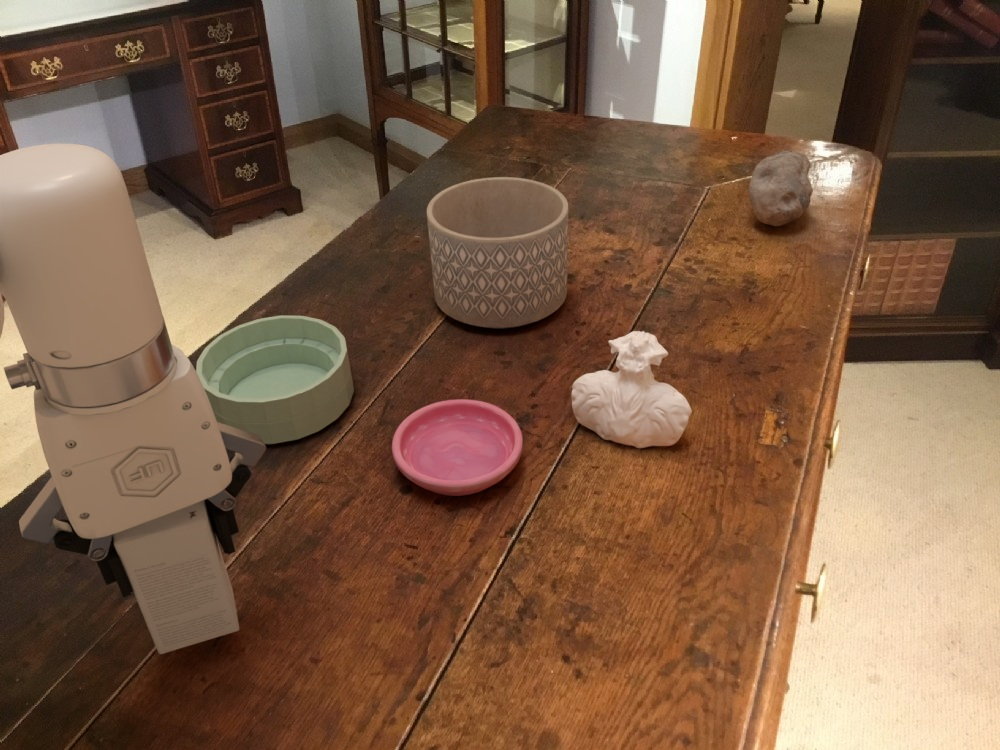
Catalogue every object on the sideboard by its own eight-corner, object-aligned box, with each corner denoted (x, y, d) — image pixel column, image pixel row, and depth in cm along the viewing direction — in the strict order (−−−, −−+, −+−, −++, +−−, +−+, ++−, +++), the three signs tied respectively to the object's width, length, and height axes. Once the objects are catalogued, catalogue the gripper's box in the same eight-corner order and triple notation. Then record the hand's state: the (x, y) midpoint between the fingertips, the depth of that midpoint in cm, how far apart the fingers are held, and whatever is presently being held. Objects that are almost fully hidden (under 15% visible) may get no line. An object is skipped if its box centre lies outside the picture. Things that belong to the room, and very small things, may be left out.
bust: (686, 457, 85) (711, 347, 85) (676, 461, 78) (703, 341, 78) (573, 428, 89) (596, 324, 89) (553, 430, 82) (578, 316, 82)
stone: (821, 202, 125) (835, 136, 119) (795, 244, 115) (809, 174, 109) (762, 190, 128) (772, 126, 122) (732, 230, 118) (742, 162, 112)
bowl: (236, 468, 83) (221, 421, 79) (193, 389, 94) (178, 344, 90) (377, 413, 89) (370, 367, 86) (322, 344, 100) (313, 300, 96)
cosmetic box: (233, 591, 68) (202, 480, 61) (240, 632, 65) (208, 520, 58) (153, 613, 66) (111, 502, 59) (156, 657, 63) (112, 545, 56)
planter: (419, 282, 110) (409, 191, 103) (535, 256, 115) (535, 167, 107) (460, 350, 98) (452, 252, 90) (589, 318, 102) (592, 222, 95)
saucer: (512, 415, 88) (511, 391, 86) (533, 500, 78) (532, 475, 76) (392, 429, 87) (389, 405, 85) (398, 517, 77) (394, 492, 75)
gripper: (-54, 443, 44) (55, 653, 55) (267, 343, 52) (308, 546, 62) (-63, 372, 50) (38, 577, 60) (229, 290, 57) (273, 486, 68)
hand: (175, 560), depth 61 cm, fingers closed on cosmetic box, 6 cm apart
